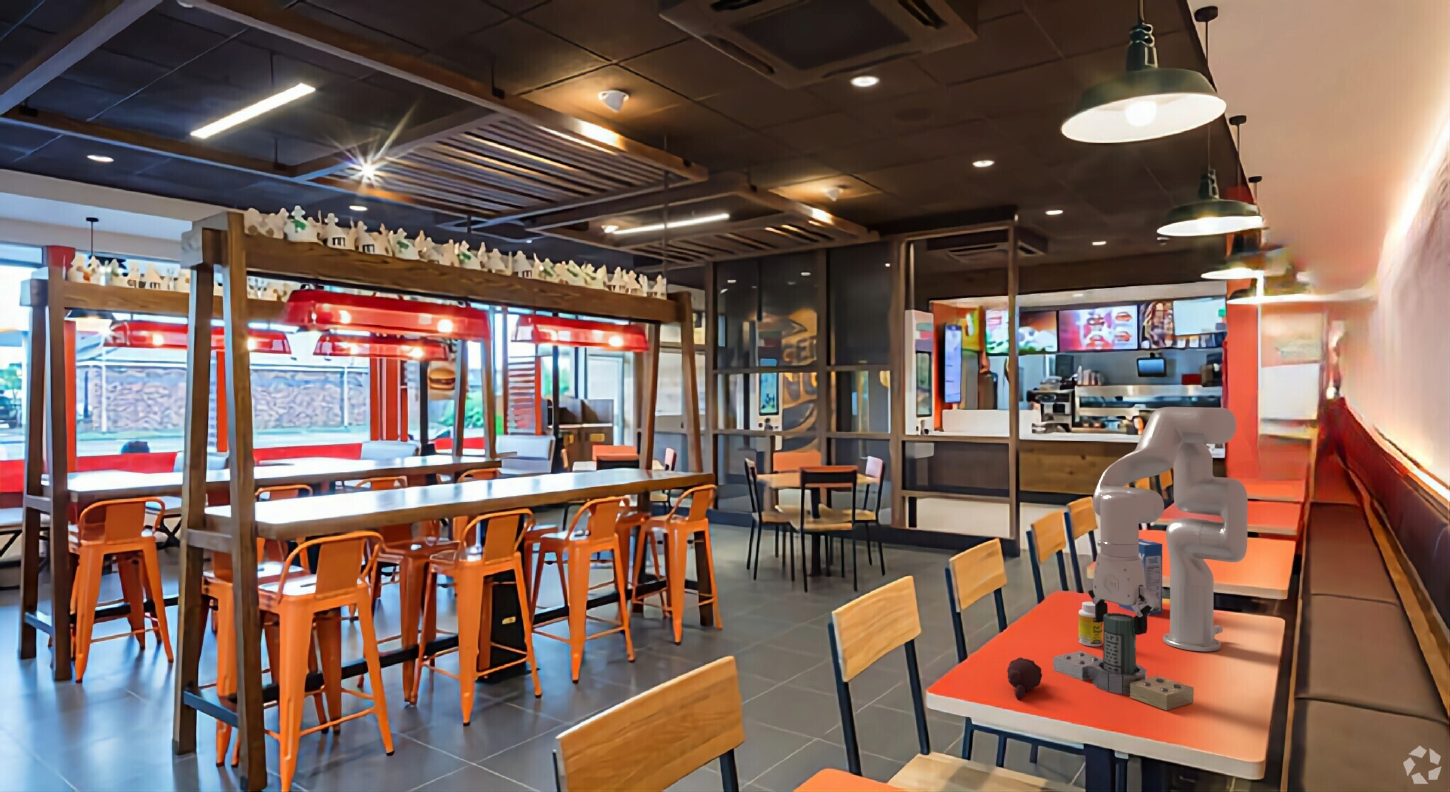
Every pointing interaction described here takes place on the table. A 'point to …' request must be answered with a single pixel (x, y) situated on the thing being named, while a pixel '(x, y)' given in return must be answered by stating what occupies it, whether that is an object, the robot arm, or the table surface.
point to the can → (1119, 643)
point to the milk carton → (1151, 572)
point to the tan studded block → (1161, 692)
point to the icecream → (1023, 676)
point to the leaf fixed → (1096, 672)
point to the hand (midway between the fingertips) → (1120, 627)
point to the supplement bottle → (1089, 626)
